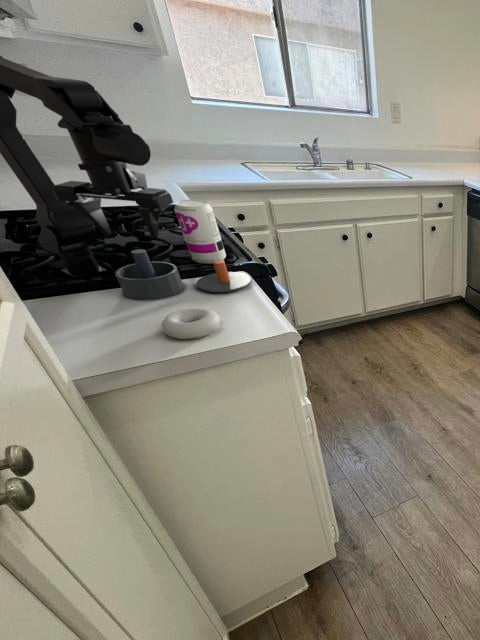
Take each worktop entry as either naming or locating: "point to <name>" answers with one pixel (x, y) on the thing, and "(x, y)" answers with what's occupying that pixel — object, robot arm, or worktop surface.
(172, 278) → the bowl
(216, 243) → the supplement can
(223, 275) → the bowl lid
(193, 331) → the donut
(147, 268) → the food processor blade
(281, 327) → the worktop surface
